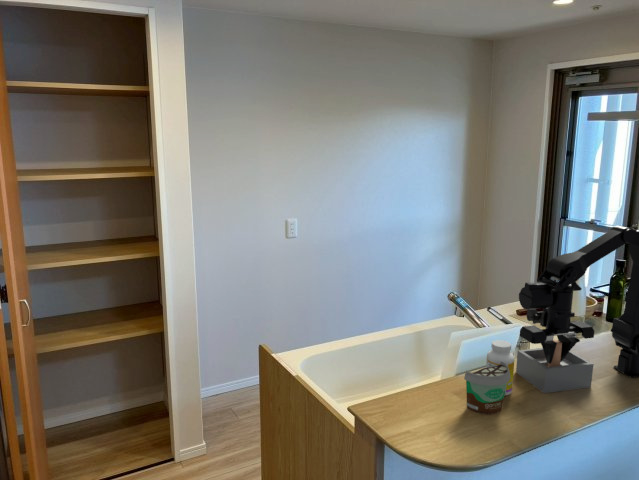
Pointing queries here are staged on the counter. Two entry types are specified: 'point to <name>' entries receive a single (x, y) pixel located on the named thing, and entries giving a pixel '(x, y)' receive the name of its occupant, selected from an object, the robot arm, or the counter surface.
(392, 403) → the counter surface
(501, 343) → the supplement bottle
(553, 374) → the bore box
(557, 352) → the peg
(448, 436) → the counter surface
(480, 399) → the food container
